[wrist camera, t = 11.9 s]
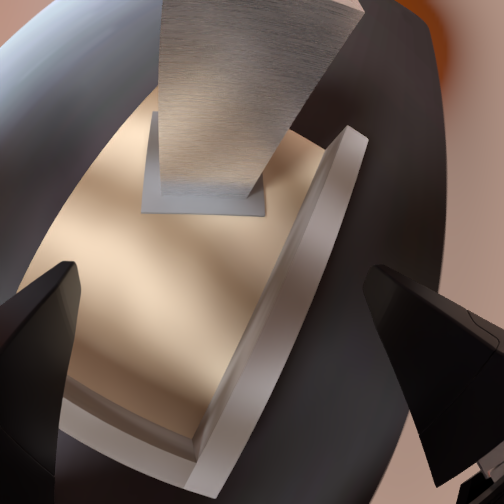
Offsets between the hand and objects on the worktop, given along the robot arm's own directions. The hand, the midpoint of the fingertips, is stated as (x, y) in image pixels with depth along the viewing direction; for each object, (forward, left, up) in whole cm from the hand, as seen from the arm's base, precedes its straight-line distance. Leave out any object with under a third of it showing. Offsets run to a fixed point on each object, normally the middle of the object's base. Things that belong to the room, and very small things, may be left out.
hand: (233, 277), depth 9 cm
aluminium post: (+6, +4, -6) cm, 10 cm away
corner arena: (+2, +3, -8) cm, 8 cm away
